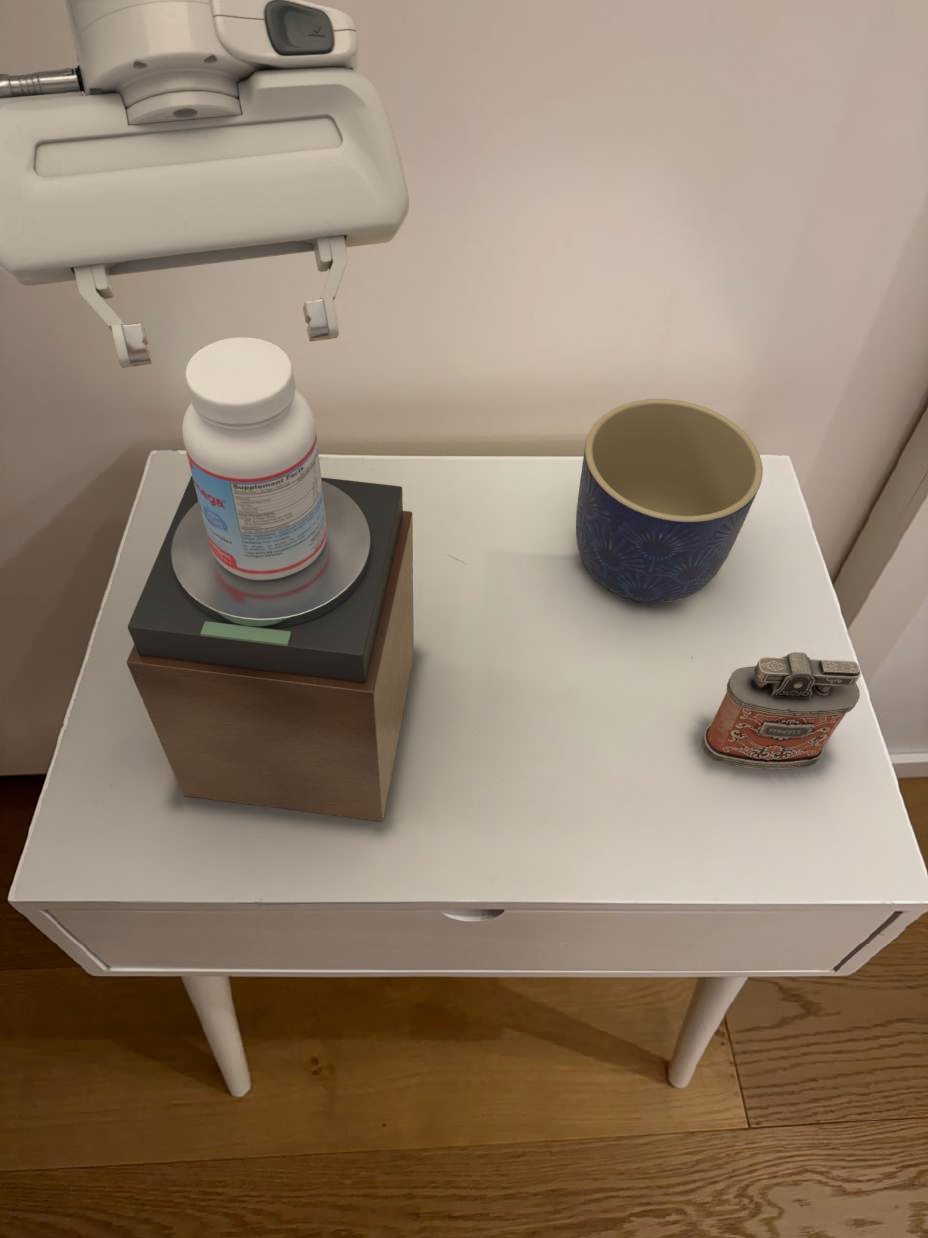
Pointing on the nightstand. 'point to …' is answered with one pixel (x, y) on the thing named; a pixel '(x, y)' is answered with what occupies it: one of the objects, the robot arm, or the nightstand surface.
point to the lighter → (781, 712)
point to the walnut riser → (289, 720)
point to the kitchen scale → (275, 593)
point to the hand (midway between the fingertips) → (232, 351)
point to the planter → (663, 497)
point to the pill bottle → (254, 459)
